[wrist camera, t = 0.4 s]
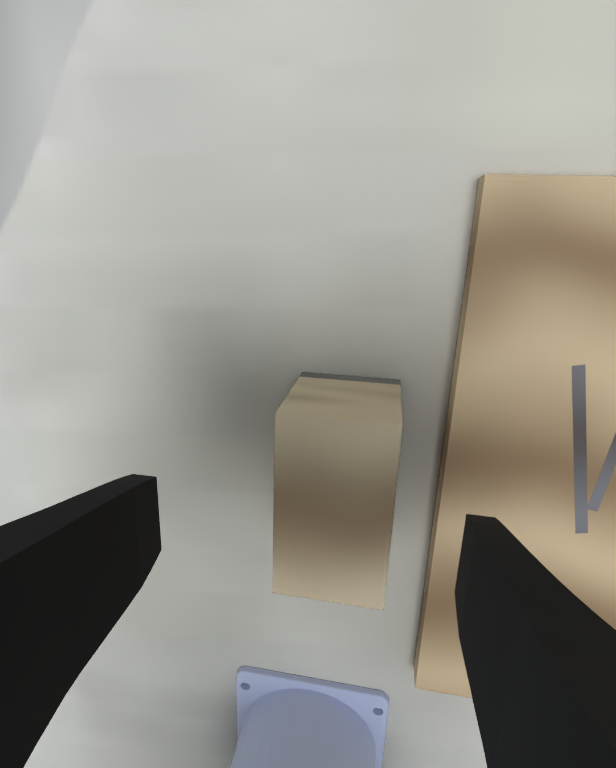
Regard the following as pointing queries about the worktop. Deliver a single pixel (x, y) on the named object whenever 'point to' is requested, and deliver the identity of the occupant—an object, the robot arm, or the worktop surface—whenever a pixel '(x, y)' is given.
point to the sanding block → (336, 488)
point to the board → (530, 400)
